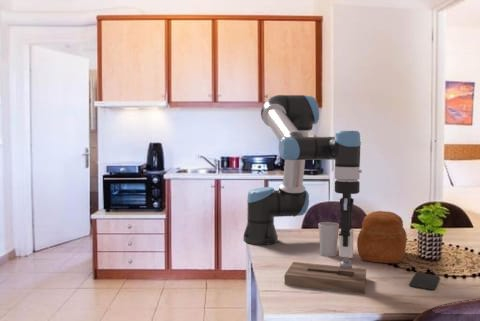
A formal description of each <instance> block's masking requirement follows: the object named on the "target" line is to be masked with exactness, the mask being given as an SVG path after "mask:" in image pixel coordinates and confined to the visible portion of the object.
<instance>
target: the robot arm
mask: <svg viewBox="0 0 480 321" xmlns="http://www.w3.org/2000/svg"><path fill="white" fill-rule="evenodd" d="M260 116H261V120H262V122H263V123H264V124H265V125H266V126H268V127H270V129H271V130H272V132H273V133H274V135H275V136H276V138H277V139H278V141H279V145H278V151H279V157H280V158H281V159H282V160H284V167H283V168H284V170H283V177H282V178H283V179H282V182H281V183H280V184H279V186H278V189H277V190H275V189H274V187H272V186H267V187H266V186H265V187H258V188H257V187H256V188H253V189H250V190H249V191H248V193H247V199H246V200H247V201H246V203H247V223H246V227H245V230H244V232H243V239H242V240H243V242H244V243H246V244H251V245H257V246H258V245H260V246H261V245H272V244H276V243H278V240H279V239H278V233H277V229H276V227H275V223H274V222H275V218H278V217H280V218H281V217H300V216H303V215H304V214H306V213H307V211H308V208H309V204H310V199H309V197H310V194H309V192H308V190H306V187H305V185H304V184H303V183H304V174H305V165H306V161H307V160H309V161H310V160H311V161H312V160H313V161H315V160H316V161H318V160H319V161H320V160H322V161H323V160H329V161H331V160H332V161H333V160H334V179H335V180H334V192H335V193H336V194H342V197H340V199H339V205H340V211H339V212H340V229H341V234H339V233H338V237H339V236H341V256H342V258H343V257H349V258H351V257H350V229H353V232H354V228H353V226H352V225H353V224H352V216H353V210H354V209H353V208H354V202H355V201H354V200H355V199H354V198H352V195H355V194H359V193H360V185H361V184H360V183H361V182H360V181H358V180H360V177H361V176H360V174H361V173H363V171H362V169H361V167H360V166H361V145H362V144H361V143H362V142H361V133H360V131H358V130H337V131H336V132H335V136H309V133H310V132H311V131H312V130H313V126H314V125H316V124H318V122H319V120H320V107H319V103H318V100H317V99H316V98H315V97H314V96H312V95H305V94H298V95H297V94H292V95H289V94H287V95H286V94H278V95H274V96H270V98H268V99H266V101H265V102H264V103H263V104H262V106H261V109H260Z"/></svg>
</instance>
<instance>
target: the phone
mask: <svg viewBox="0 0 480 321" xmlns="http://www.w3.org/2000/svg"><path fill="white" fill-rule="evenodd" d="M440 279H441V278H440V276H439V275H437V274H431V273H430V274H429V273H424V272H416V273H414V276H413V278H412V279H411V281H410V282H409V284H408V286H409V287H410V288H414V289H420V290H425V291H433V292H434V291H435V290H436V288H437V286H438V282H439V281H440Z"/></svg>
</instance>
